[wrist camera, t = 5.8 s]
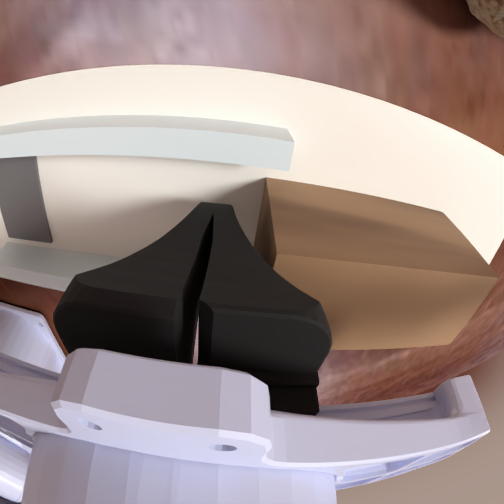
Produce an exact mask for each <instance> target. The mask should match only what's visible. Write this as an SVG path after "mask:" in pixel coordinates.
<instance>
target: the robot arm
mask: <svg viewBox="0 0 504 504" xmlns="http://www.w3.org/2000/svg"><path fill="white" fill-rule="evenodd" d="M198 316H199V337H198V363H197V365H195V364H193V355H194V346H195V338H196V329H197V322H198ZM53 322H54V325H55V328H56V330H57V332H58V334H59V336H60V338H61V340H62V342H63V344H64V346H65V348H66V349H67V351H68V353H69V355H67V357H65V355H64V353H63V351H62V350H61V348H60V346H59V344H58V342H57V341H56V339H55V337H54V335H53V333H52V331H51V329H50V327H49V325H48V323H47V321H46V319H45V318H44V316H43V315H42V314H40V313H37V312H33V311H30V310H26V309H22V308H19V307H16V306H12V305H9V304H5V303H2V302H0V504H337V499H336V490H340V489H345V488H350V487H354V486H358V485H363V484H367V483H371V482H375V481H379V480H383V479H386V478H389V477H393V476H396V475H400V474H403V473H406V472H409V471H412V470H415V469H418V468H421V467H423V466H426V465H429V464H432V463H434V462H437V461H440V460H442V459H445V458H447V457H449V456H451V455H453V454H455V453H456V452H458V451H460V450H461V449H463V448H465V447H467V446H468V445H470V444H472V443H473V442H475V441H476V440H478V439H479V438H481V437H482V436H484V435H486V434H487V433H489V431H490V427H489V424H488V421H487V418H486V415H485V412H484V410H483V407H482V404H481V401H480V399H479V396H478V394H477V391H476V389H475V386H474V384H473V381H472V379H471V376H470V375H466V376H461V377H456V378H452V379H449V380H447V381H445V382H443V383H442V384H441V385H439V387H437V388H436V389H435V391H434V392H433V393H427V394H422V395H416V396H410V397H404V398H398V399H391V400H383V401H375V402H366V403H355V404H343V405H327V406H319V403H318V396H317V390H316V387H317V386H318V385H319V377H318V370H319V368H320V366H321V365H322V363H323V361H324V360H325V358H326V357H327V355H328V353H329V351H330V349H331V346H332V335H331V331H330V326H329V323H328V320H327V318H326V315H325V313H324V310H323V308H322V305H321V303H320V302H319V301H318V300H316V299H314V298H313V297H311V296H309V295H308V294H306V293H304V292H303V291H301V290H299V289H298V288H296V287H295V286H294V285H292V284H291V283H289V282H288V281H287V280H285V279H284V278H283V277H282V276H280V275H279V274H278V273H277V272H276V271H275V270H274V269H273V268H271V267H270V266H269V265H268V264H267V263H266V262H265V261H264V260H263V259H262V257H261V256H260V255H259V254H258V253H257V251H256V250H255V249H254V247H253V246H252V244H251V243H250V241H249V240H248V238H247V237H246V235H245V233H244V231H243V230H242V228H241V226H240V224H239V222H238V220H237V217H236V215H235V212H234V208H233V207H232V205H228V204H219V203H210V202H200V203H199V204H198V205H197V206H196V207H195V208H194V209H193V210H192V211H191V212H190V213H189V214H188V215H187V216H186V217H185V218H184V219H183V220H182V221H181V222H179V223H178V224H177V225H176V226H175V227H174V228H172V229H171V230H170V231H169V232H167V233H166V234H165V235H164V236H162V237H161V238H159V239H158V240H156V241H155V242H153V243H152V244H150V245H148V246H147V247H145V248H143V249H141V250H139V251H137V252H135V253H133V254H131V255H129V256H127V257H125V258H123V259H121V260H118V261H116V262H113V263H111V264H108V265H105V266H103V267H100V268H96V269H93V270H90V271H86V272H83V273H79V274H76V275H75V276H74V278H73V279H72V281H71V282H70V284H69V285H68V287H67V289H66V291H65V292H64V294H63V296H62V298H61V300H60V302H59V304H58V305H57V307H56V309H55V311H54V313H53Z"/></svg>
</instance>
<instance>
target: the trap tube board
mask: <svg viewBox="0 0 504 504" xmlns="http://www.w3.org/2000/svg"><path fill="white" fill-rule="evenodd" d="M266 177H268V178H275V179H282V180H289V181H295V182H302V183H308V184H314V185H320V186H326V187H331V188H337V189H342V190H348V191H353V192H358V193H363V194H368V195H373V196H377V197H382V198H387V199H391V200H396V201H400V202H404V203H409V204H413V205H417V206H421V207H425V208H429V209H433V210H437V211H441V212H443V213H444V214H445V215H446V216H447V217H448V218H449V219H450V220H451V221H452V222H453V223H454V225H455V226H456V227H457V228H458V229H459V230H460V231H461V232H462V233H463V235H464V236H465V237H466V238H467V239H468V240H469V241H470V243H471V244H472V245H473V246H474V247H475V248H476V250H477V251H478V252H479V253H480V255H481V256H482V257H483V258H484V259H485V261H486V262H487V263H488V265H489V264H490V262H491V260H492V258H493V257H494V255H495V253H496V251H497V250H498V248H499V246H500V244H501V242H502V240H503V238H504V156H503V155H501V154H499V153H498V152H496V151H494V150H492V149H491V148H489V147H487V146H485V145H483V144H482V143H480V142H478V141H476V140H474V139H472V138H470V137H468V136H466V135H464V134H462V133H460V132H458V131H456V130H454V129H452V128H450V127H448V126H446V125H443V124H441V123H439V122H437V121H434V120H432V119H430V118H427V117H425V116H423V115H420V114H418V113H415V112H413V111H410V110H407V109H405V108H402V107H399V106H397V105H394V104H391V103H388V102H385V101H382V100H379V99H376V98H373V97H370V96H367V95H364V94H360V93H357V92H354V91H350V90H346V89H343V88H339V87H335V86H331V85H327V84H323V83H319V82H315V81H310V80H305V79H301V78H296V77H291V76H285V75H279V74H274V73H267V72H261V71H253V70H246V69H237V68H227V67H216V66H201V65H174V64H152V65H125V66H111V67H100V68H91V69H83V70H75V71H69V72H62V73H56V74H51V75H46V76H41V77H36V78H32V79H27V80H23V81H19V82H15V83H11V84H8V85H4V86H1V87H0V277H2V278H6V279H10V280H14V281H18V282H23V283H27V284H31V285H36V286H40V287H45V288H50V289H55V290H60V291H66V289H67V287H68V285H69V284H70V282H71V281H72V279H73V278H74V276H75V275H76V274H79V273H83V272H86V271H90V270H93V269H96V268H100V267H103V266H105V265H108V264H111V263H113V262H116V261H118V260H121V259H123V258H125V257H127V256H129V255H131V254H133V253H135V252H137V251H139V250H141V249H143V248H145V247H147V246H148V245H150V244H152V243H153V242H155V241H156V240H158V239H159V238H161V237H162V236H164V235H165V234H166V233H167V232H169V231H170V230H171V229H172V228H174V227H175V226H176V225H177V224H178V223H179V222H181V221H182V220H183V219H184V218H185V217H186V216H187V215H188V214H189V213H190V212H191V211H192V210H193V209H194V208H195V207H196V206H197V205H198V204H199V203H200V202H210V203H219V204H228V205H232V207H233V208H234V212H235V215H236V217H237V220H238V222H239V224H240V226H241V228H242V230H243V231H244V233H245V235H246V237H247V238H248V240H249V241H250V243H251V244H252V246H254V241H255V235H256V230H257V224H258V219H259V213H260V208H261V202H262V197H263V191H264V185H265V180H266Z"/></svg>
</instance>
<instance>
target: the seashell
mask: <svg viewBox="0 0 504 504" xmlns="http://www.w3.org/2000/svg"><path fill="white" fill-rule="evenodd" d="M466 1H467V3H468V6H469V10H470V12H471V13H472V15H474V16H475V17H476V18H477V19H478V20H480V21H481V22H482V23H484V24H485V25H486V26H487V27H488V28H489V29H490V30H491V31H492V32H493V33H494V34H496V35H498V36H500V37H501V38H503V39H504V0H466Z"/></svg>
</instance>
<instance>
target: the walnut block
mask: <svg viewBox="0 0 504 504" xmlns="http://www.w3.org/2000/svg"><path fill="white" fill-rule="evenodd" d="M253 247H254V249H255V250H256V251H257V253H258V254H259V255H260V256H261V257H262V259H263V260H264V261H265V262H266V263H267V264H268V265H269V266H270V267H271V268H273V269H274V270H275V271H276V272H277V273H278V274H279V275H280V276H282V277H283V278H284V279H285V280H287V281H288V282H289V283H291V284H292V285H294V286H295V287H296V288H298V289H299V290H301V291H303V292H304V293H306V294H308V295H309V296H311V297H313V298H314V299H316V300H318V301H319V302H320V303H321V305H322V308H323V310H324V313H325V315H326V318H327V320H328V323H329V326H330V331H331V335H332V346H331V349H330V350H360V349H391V348H410V347H424V346H436V345H447V344H450V343H451V342H452V341H453V340H454V338H455V337H456V336H457V335H458V334H459V332H460V331H461V330H462V329H463V327H464V326H465V325H466V323H467V322H468V321H469V320H470V318H471V317H472V316H473V314H474V313H475V312H476V310H477V309H478V308H479V306H480V305H481V303H482V302H483V300H484V299H485V298H486V296H487V295H488V293H489V292H490V290H491V289H492V287H493V286H494V284H495V283H496V281H497V280H498V276H497V275H496V274H495V272H494V271H493V270H492V268H491V267H490V266H489V265H488V263H487V262H486V261H485V259H484V258H483V257H482V256H481V255H480V253H479V252H478V251H477V250H476V248H475V247H474V246H473V245H472V244H471V243H470V241H469V240H468V239H467V238H466V237H465V236H464V235H463V233H462V232H461V231H460V230H459V229H458V228H457V227H456V226H455V225H454V223H453V222H452V221H451V220H450V219H449V218H448V217H447V216H446V215H445V214H444V213H443V212H441V211H437V210H433V209H429V208H425V207H421V206H417V205H413V204H409V203H404V202H400V201H396V200H391V199H387V198H382V197H377V196H373V195H368V194H363V193H358V192H353V191H348V190H342V189H337V188H331V187H326V186H320V185H314V184H308V183H302V182H295V181H289V180H282V179H275V178H268V177H266V180H265V185H264V191H263V197H262V202H261V208H260V213H259V219H258V224H257V230H256V235H255V241H254V246H253Z"/></svg>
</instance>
